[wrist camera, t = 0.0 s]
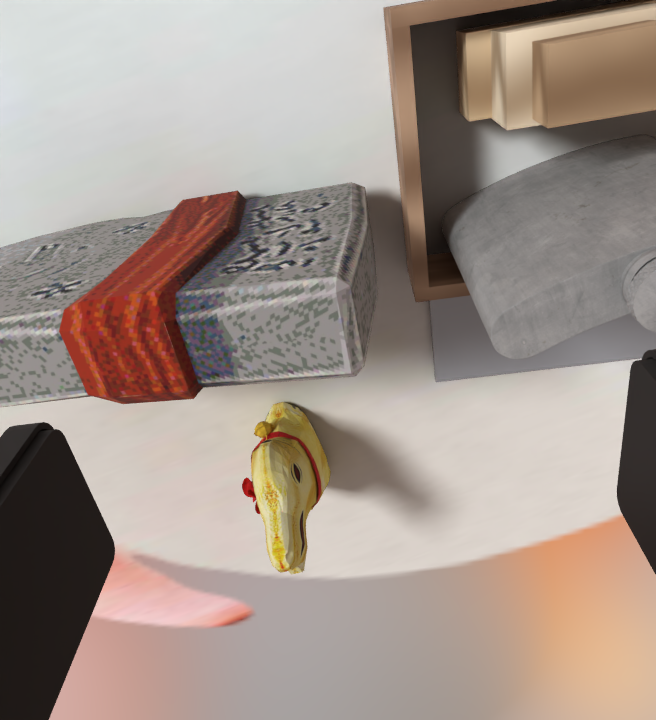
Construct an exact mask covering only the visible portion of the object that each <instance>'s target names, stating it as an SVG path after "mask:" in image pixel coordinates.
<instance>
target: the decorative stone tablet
mask: <svg viewBox="0 0 656 720" xmlns="http://www.w3.org/2000/svg"><path fill="white" fill-rule="evenodd" d="M377 295H378V290H377V279H376V268H375V257H374V246H373V239H372V233H371V226H370V219H369V213H368V206H367V199H366V193H365V187H362V186H360V185H357V184H354V183H346V184H340V185H333V186H327V187H321V188H315V189H309V190H303V191H297V192H291V193H285V194H279V195H273V196H267V197H261V198H255V199H248V200H246V199H245V198H244V197H243V196H242V195H241V194H240V193H239V192H238V191H234V192H228V193H222V194H216V195H210V196H204V197H198V198H192V199H186V200H182V201H181V202H180V203H179V204H178V205H177V207H176V208H175V209H173V210H168V211H164V212H161V213H157V214H153V215H150V216H146V217H137V218H120V219H114V220H108V221H102V222H97V223H92V224H88V225H84V226H80V227H76V228H71V229H67V230H63V231H59V232H55V233H51V234H47V235H42V236H38V237H35V238H31V239H28V240H25V241H21V242H18V243H15V244H11V245H8V246H5V247H1V248H0V407H6V406H15V405H23V404H31V403H40V402H48V401H56V400H65V399H73V398H81V397H90V396H94V397H98V398H102V399H106V400H110V401H114V402H117V403H121V404H130V403H143V402H157V401H170V400H184V399H194V398H195V397H196V395H197V394H198V393H199V392H200V390H201V389H202V388H203V387H217V386H230V385H243V384H257V383H270V382H283V381H297V380H310V379H324V378H337V377H350V376H356V375H357V374H358V373H359V372H360V370H361V369H362V368H363V367H364V364H365V358H366V353H367V348H368V343H369V337H370V332H371V327H372V321H373V316H374V311H375V306H376V300H377Z"/></svg>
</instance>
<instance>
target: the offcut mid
mask: <svg viewBox="0 0 656 720" xmlns="http://www.w3.org/2000/svg"><path fill="white" fill-rule="evenodd" d="M645 20H656V3H645V4H639V5H633V6H627V7H622V8H616V9H610V10H604V11H599V12H593V13H587V14H582V15H576V16H570V17H564V18H559V19H553V20H547V21H541V22H536V23H530V24H524V25H519V26H513V27H507V28H501V29H496V30H490V35H491V86H492V119H493V120H494V121H495V122H497V123H498V124H499V125H501V126H502V127H503V128H504V129H506V130H513V129H519V128H525V127H532V126H538V125H541V124H540V123H538V122H536V121H534V120H533V119H532V41H537V40H543V39H548V38H553V37H559V36H564V35H570V34H575V33H580V32H586V31H591V30H596V29H602V28H607V27H613V26H618V25H623V24H629V23H634V22H640V21H645Z"/></svg>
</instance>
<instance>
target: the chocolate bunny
mask: <svg viewBox="0 0 656 720" xmlns="http://www.w3.org/2000/svg"><path fill="white" fill-rule="evenodd" d="M254 434H255V435H256V436H259V437H260V438H262V439H261V441H260V443H259V444H258V445H257V446H256V447H255V449H254V450H253V452H252V455H251V472H252V481H250V480H249V479H248V478H247V477H246V478H245V479H244V481H243V484H242V488H243V492H244V494H245V495H246V496H248V497H253V502H254V501H255V500H256V499H257V502H256V505H255V510H256V512H257V513H258V514H260V513H261V516H262V519H263V522H264V525H265V531H266V543H267V552H268V554H269V557H270V560H271V563H272V566H273V567H275V568H276V569H277V570H278V571H279V572H285V571H289V572H290V573H291V574H295V573H300V572H303V570H304V566H305V559H306V552H307V538H306V519H307V516H308V514H309V512H310V510H312V509H313V507H314V506H315V505H316V504H317V503H318V501H319V499H320V498H321V496H322V494H323V492H324V490H325V488H326V486H327V485H328V482H329V478H330V473H331V471H330V468H329V466H328V463H327V458H326V456H325V453H324V451H323V448H322V446H321V444H320V441H319V439H318V437H317V435H316V433H315V431H314V429H313V427H312V425H311V424H310V422H309V420H308V418H307V416H306V415H305V414H304V413H303V412H302V411H301V410H300V409H299V408H298V407H295V406H293V405H290V404H288V403H285V402H281V403H277V404H274V405H273V406H272V408H271V409H270V411H269V413H268V415H267V417H266V420H265V421H263V422H260V423H258V424H257V426H256V428H255V433H254Z"/></svg>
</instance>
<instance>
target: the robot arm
mask: <svg viewBox="0 0 656 720" xmlns="http://www.w3.org/2000/svg"><path fill="white" fill-rule="evenodd" d="M617 499H618V504H619V507H620V510H621V512H622V514H623V516H624V518H625V520H626V522H627V523H628V525H629V527H630V529H631V531H632V532H633V534H634V536H635V538H636V539H637V542H638V543H639V545H640V547H641V549H642V551H643V552H644V554H645V556H646V558H647V559H648V562H649V563H650V565H651V567H652V569H653V571H654V572H655V574H656V349H653V350H648V351H646V352H645V353H644V355H643V357H642V360H639V361H635V362H633V364H632V366H631V370H630V379H629V388H628V396H627V405H626V414H625V423H624V432H623V440H622V449H621V458H620V467H619V475H618V484H617ZM114 555H115V547H114V542H113V539H112V536H111V534H110V532H109V530H108V528H107V526H106V524H105V522H104V519H103V517H102V515H101V513H100V511H99V509H98V507H97V504H96V502H95V500H94V498H93V496H92V494H91V492H90V489H89V487H88V485H87V483H86V481H85V479H84V477H83V475H82V472H81V470H80V468H79V466H78V464H77V462H76V460H75V457H74V455H73V453H72V451H71V449H70V447H69V445H68V442H67V440H66V438H65V436H64V435H63V433H62V432H61V431H60V430H57V429H55V430H54V429H53V427H52V426H51V425H50V424H48V423H45V422H42V423H34V424H26V425H17V426H12V427H9V428H8V429H7V430H6V431H5V432H4V433H3V435H2V436H1V437H0V720H49V717H50V715H51V712H52V710H53V707H54V705H55V703H56V700H57V698H58V695H59V693H60V690H61V688H62V686H63V683H64V681H65V678H66V676H67V673H68V671H69V668H70V666H71V664H72V661H73V659H74V656H75V654H76V651H77V649H78V646H79V644H80V642H81V639H82V637H83V634H84V632H85V629H86V627H87V624H88V622H89V620H90V617H91V615H92V612H93V610H94V607H95V605H96V602H97V600H98V598H99V595H100V593H101V590H102V588H103V585H104V583H105V580H106V578H107V576H108V573H109V571H110V568H111V566H112V563H113V560H114Z"/></svg>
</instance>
